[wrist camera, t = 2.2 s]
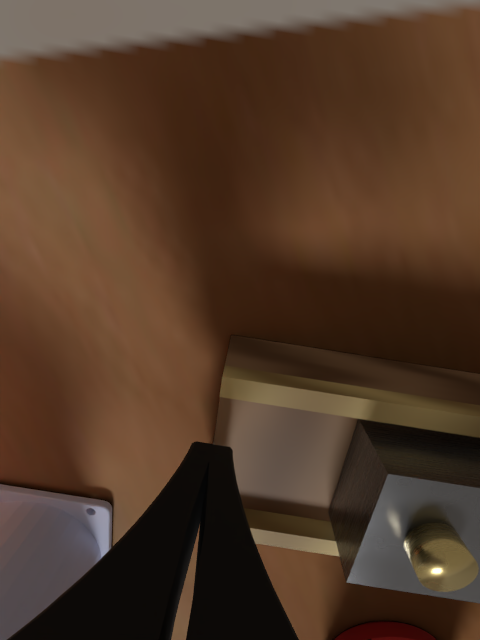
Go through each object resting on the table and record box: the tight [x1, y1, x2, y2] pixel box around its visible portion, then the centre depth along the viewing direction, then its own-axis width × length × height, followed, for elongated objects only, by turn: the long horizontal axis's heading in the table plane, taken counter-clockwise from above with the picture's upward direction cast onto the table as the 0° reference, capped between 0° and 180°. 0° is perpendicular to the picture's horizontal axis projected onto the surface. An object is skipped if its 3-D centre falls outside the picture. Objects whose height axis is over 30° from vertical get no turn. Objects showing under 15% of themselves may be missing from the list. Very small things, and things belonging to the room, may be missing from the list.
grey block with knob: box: [328, 419, 480, 603], centre depth 10 cm, size 6×4×3 cm
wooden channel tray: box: [213, 335, 480, 556], centre depth 12 cm, size 18×7×4 cm, turn 81°
